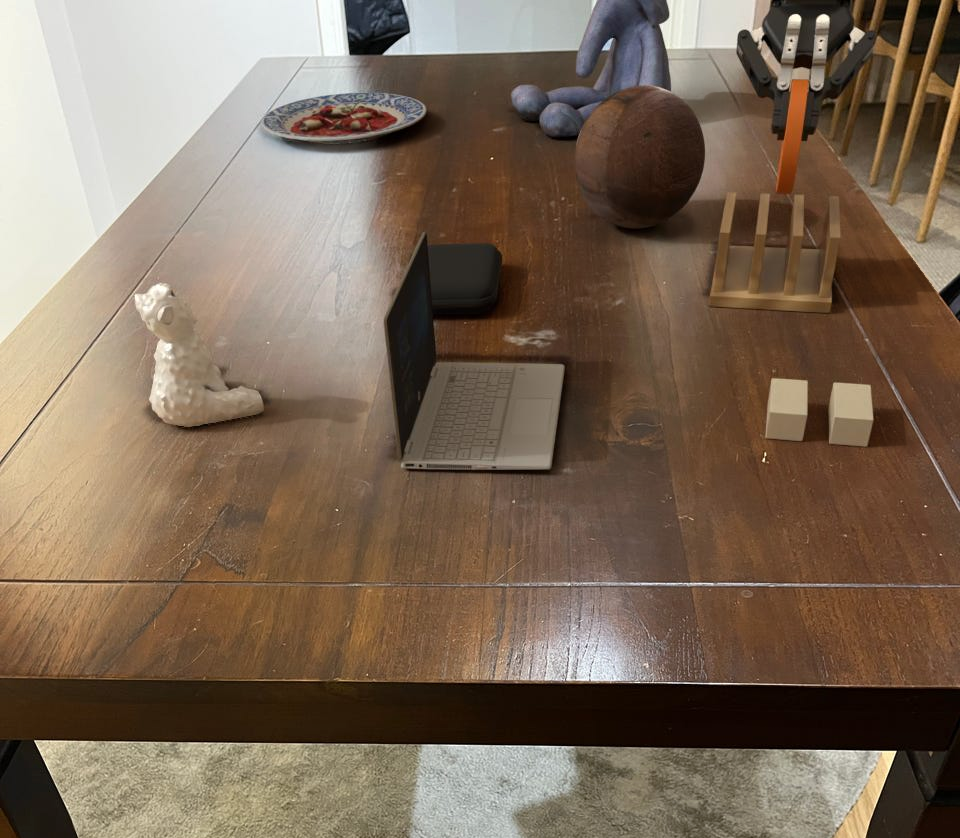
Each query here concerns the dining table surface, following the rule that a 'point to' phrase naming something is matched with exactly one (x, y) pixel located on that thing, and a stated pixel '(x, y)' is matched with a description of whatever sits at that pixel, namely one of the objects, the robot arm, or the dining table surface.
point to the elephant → (631, 62)
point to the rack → (776, 264)
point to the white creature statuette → (187, 367)
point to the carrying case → (464, 277)
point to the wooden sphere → (639, 156)
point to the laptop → (462, 393)
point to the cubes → (845, 412)
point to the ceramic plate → (344, 117)
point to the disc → (792, 136)
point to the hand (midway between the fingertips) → (793, 135)
